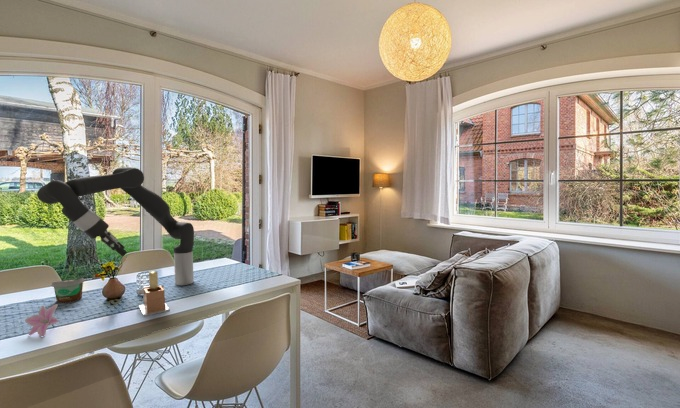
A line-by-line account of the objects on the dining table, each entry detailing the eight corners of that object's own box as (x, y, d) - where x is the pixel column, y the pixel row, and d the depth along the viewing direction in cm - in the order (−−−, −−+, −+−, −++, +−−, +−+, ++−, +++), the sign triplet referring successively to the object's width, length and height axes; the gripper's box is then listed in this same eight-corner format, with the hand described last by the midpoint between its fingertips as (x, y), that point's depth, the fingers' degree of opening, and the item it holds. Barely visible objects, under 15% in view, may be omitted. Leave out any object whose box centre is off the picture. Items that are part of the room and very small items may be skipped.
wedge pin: (149, 296, 150) (148, 272, 148) (157, 294, 152) (156, 270, 150) (150, 299, 147) (149, 274, 146) (158, 297, 149) (158, 273, 148)
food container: (49, 306, 156) (47, 284, 155) (53, 301, 161) (51, 280, 160) (83, 301, 162) (81, 280, 161) (85, 297, 167) (84, 277, 166)
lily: (25, 333, 131) (13, 317, 126) (60, 312, 139) (50, 296, 134) (39, 350, 126) (27, 334, 120) (75, 327, 134) (65, 311, 129)
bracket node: (138, 307, 154) (137, 286, 154) (163, 302, 161) (162, 282, 160) (143, 316, 144) (142, 294, 143) (169, 310, 150) (168, 289, 149)
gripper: (100, 220, 130) (133, 249, 138) (99, 214, 142) (129, 241, 150) (82, 234, 128) (117, 263, 135) (82, 227, 139) (114, 253, 147)
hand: (123, 251), depth 143 cm, fingers open, 8 cm apart
